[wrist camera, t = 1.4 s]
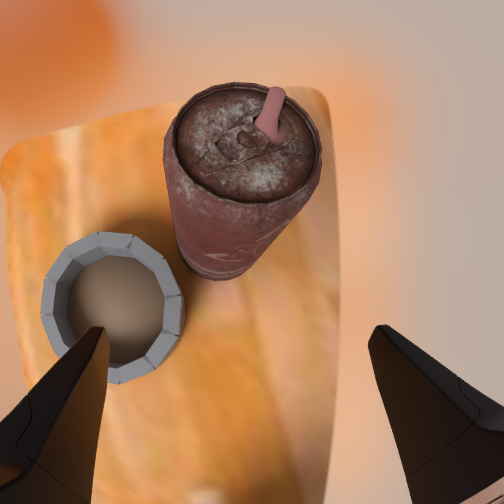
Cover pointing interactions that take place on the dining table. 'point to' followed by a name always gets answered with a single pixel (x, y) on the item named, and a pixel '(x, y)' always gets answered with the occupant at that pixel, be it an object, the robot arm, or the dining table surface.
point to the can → (237, 174)
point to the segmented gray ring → (115, 302)
